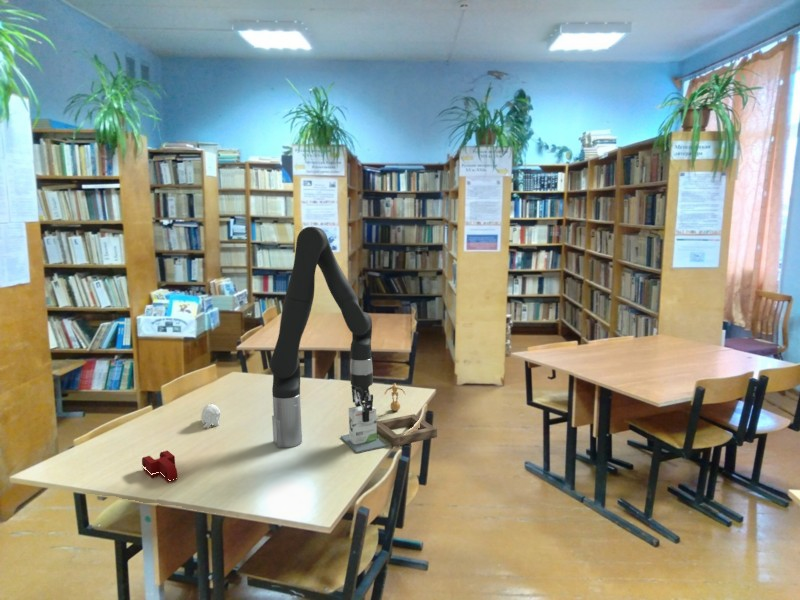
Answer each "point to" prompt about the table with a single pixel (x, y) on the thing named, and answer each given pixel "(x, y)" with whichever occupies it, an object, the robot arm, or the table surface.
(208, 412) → the white domed ornament
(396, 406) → the figurine
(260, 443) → the table surface
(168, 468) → the dark red block
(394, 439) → the holder
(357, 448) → the mat
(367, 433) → the ink box
